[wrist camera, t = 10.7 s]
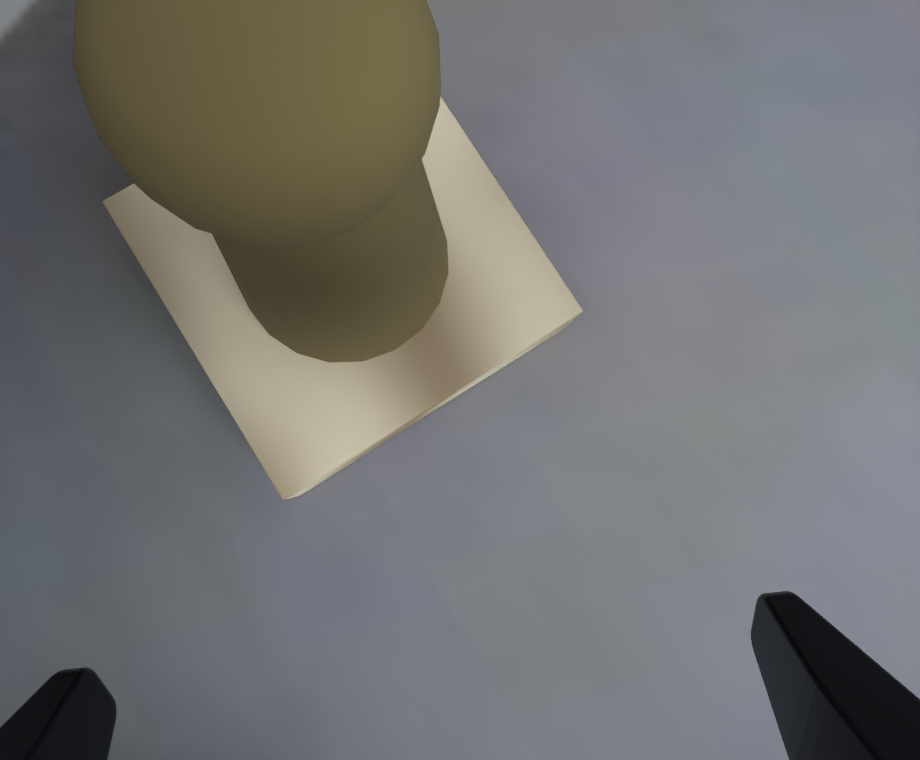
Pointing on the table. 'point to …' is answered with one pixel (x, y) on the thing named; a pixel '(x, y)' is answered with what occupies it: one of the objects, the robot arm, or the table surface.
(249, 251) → the cork
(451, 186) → the block
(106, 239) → the table surface
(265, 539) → the table surface
